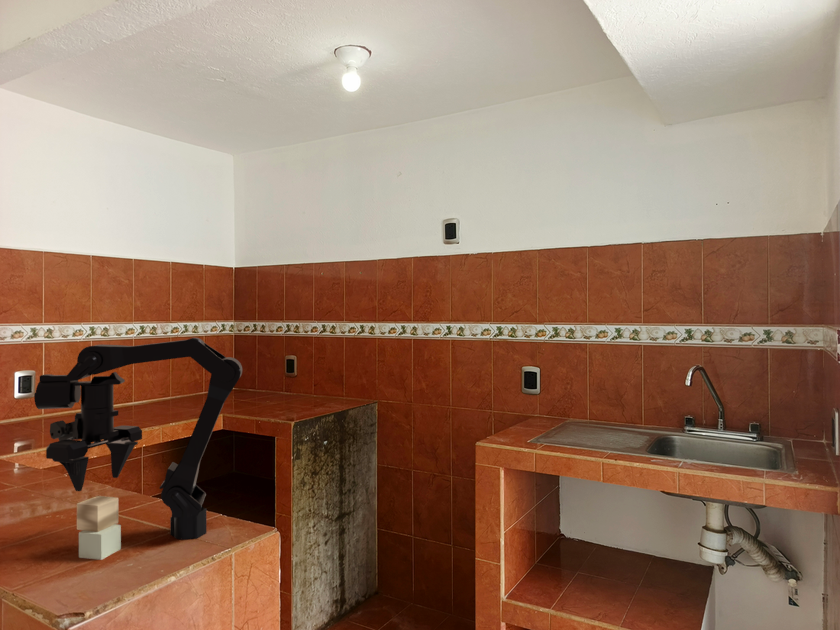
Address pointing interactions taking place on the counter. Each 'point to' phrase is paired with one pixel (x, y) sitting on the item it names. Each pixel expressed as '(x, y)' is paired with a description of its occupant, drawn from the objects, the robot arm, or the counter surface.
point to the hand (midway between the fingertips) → (97, 484)
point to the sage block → (99, 542)
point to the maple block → (97, 513)
